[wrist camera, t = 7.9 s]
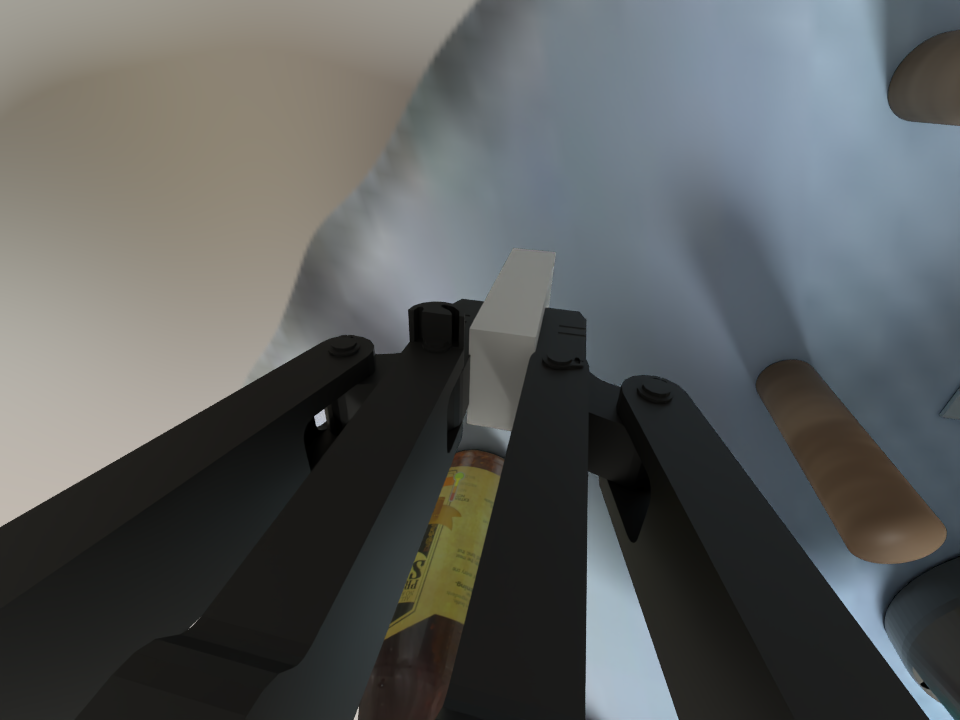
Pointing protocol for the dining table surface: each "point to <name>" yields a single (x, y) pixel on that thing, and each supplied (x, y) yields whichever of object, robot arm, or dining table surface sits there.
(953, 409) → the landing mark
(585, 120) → the dining table surface
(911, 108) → the post
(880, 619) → the dining table surface
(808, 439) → the post
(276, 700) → the robot arm
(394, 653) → the sauce bottle
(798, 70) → the dining table surface
